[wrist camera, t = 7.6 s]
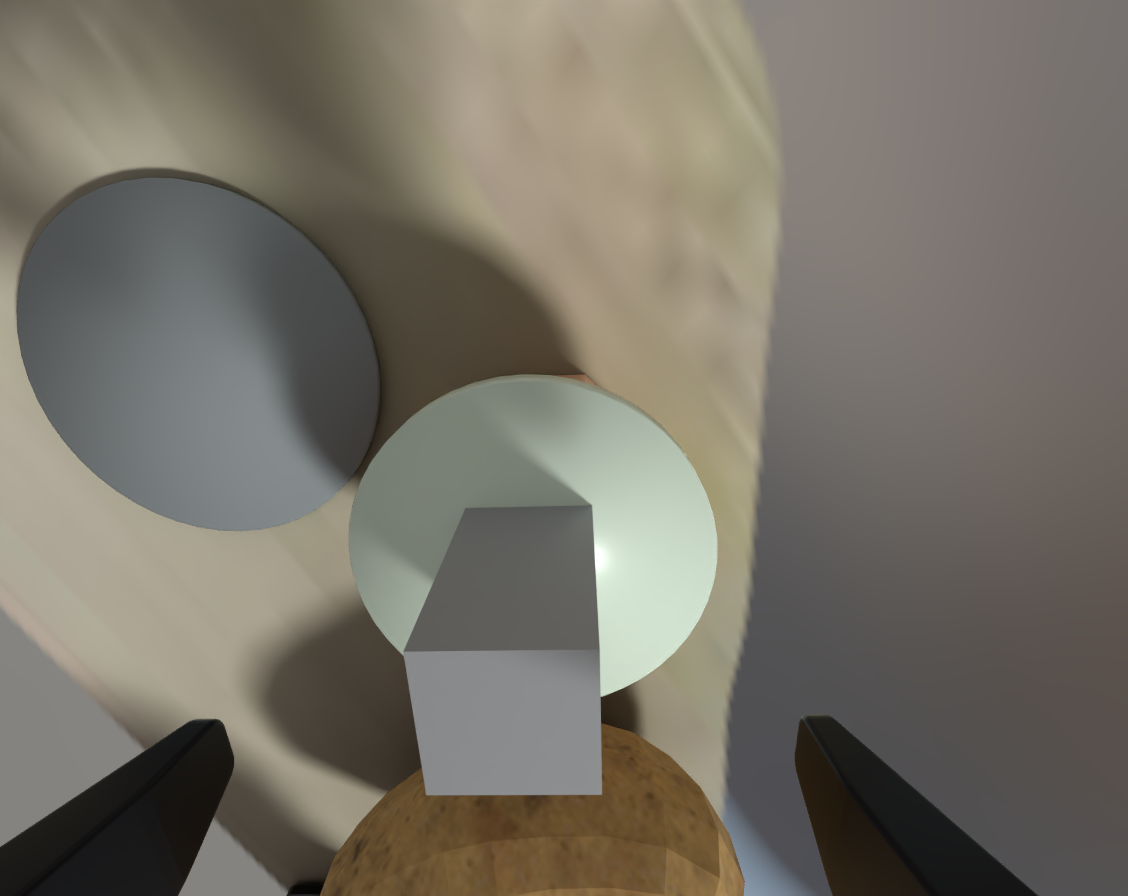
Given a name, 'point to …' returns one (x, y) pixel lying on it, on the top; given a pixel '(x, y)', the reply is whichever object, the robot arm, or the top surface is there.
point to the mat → (198, 353)
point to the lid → (528, 573)
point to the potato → (547, 838)
